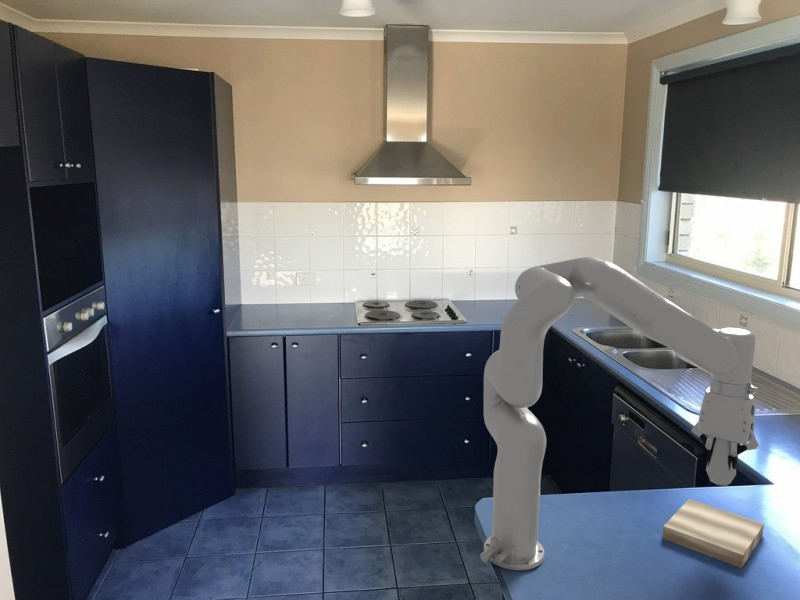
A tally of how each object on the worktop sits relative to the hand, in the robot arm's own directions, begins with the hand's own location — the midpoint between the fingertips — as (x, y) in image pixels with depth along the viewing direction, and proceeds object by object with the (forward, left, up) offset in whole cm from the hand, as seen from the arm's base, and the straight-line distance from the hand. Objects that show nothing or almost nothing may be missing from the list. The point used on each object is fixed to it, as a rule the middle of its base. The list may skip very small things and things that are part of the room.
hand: (720, 467), depth 140 cm
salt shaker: (0, 0, -3) cm, 3 cm away
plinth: (0, 0, -17) cm, 17 cm away
